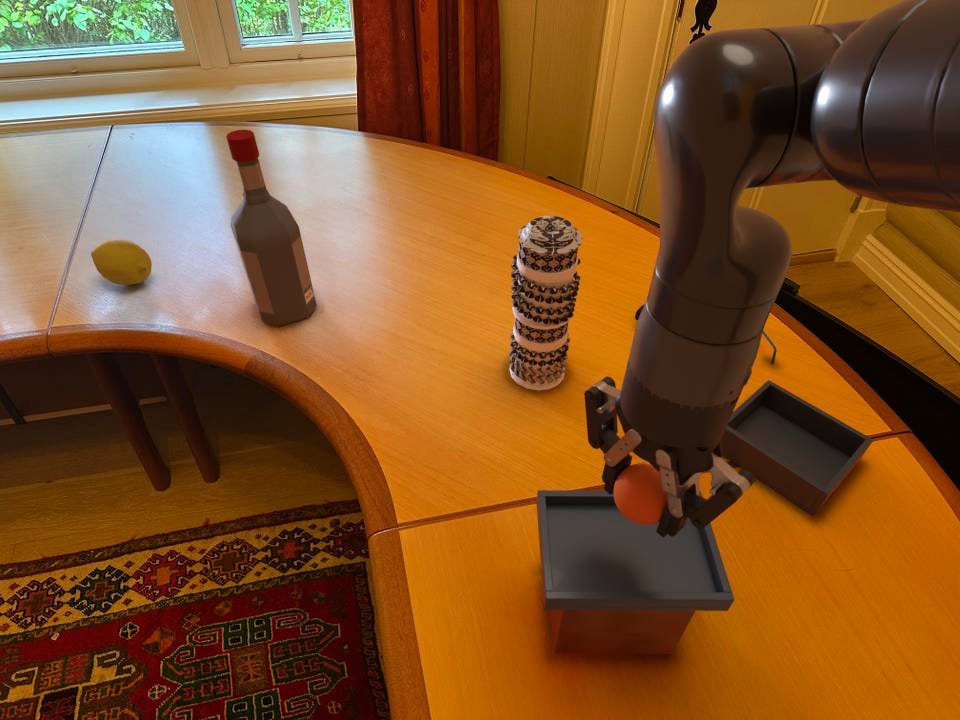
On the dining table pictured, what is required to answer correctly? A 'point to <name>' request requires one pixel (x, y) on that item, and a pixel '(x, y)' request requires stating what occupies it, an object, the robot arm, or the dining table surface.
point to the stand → (618, 631)
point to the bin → (792, 446)
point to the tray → (623, 559)
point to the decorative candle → (543, 301)
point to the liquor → (269, 242)
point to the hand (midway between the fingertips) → (640, 507)
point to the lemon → (122, 261)
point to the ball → (640, 494)
